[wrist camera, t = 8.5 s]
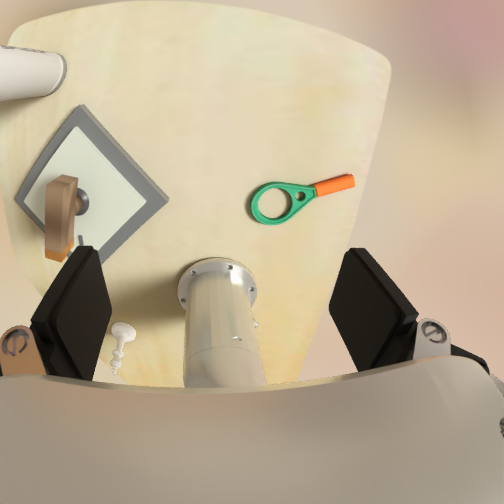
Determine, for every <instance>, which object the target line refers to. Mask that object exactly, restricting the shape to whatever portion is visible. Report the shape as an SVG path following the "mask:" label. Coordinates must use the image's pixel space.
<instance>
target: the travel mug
mask: <svg viewBox="0 0 504 504" xmlns="http://www.w3.org/2000/svg"><path fill="white" fill-rule="evenodd" d="M66 70H67V65H66V61H65V59H64V57H63V56H62V55H60V54H57V53H52V52H47V51H41V50H34V49H28V48H20V47H11V46H0V102H1V101H7V100H14V99H21V98H30V97H39V96H47V95H50V94H52V93H53V92H55V91H56V90H57V89H58V88H59V87H60V85H61V84H62V82H63V80H64V78H65V75H66Z"/></svg>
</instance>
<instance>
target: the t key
mask: <svg viewBox="0 0 504 504" xmlns="http://www.w3.org/2000/svg"><path fill="white" fill-rule="evenodd" d="M77 187H78V178H77V177H72V176H68V175H63V174H62V175H60V176H59V177H57V178H56V179H54V180H53V181H51V182H50V183H48V184H47V185H46V194H45V258H48V259H52V260H55V261H58V262H61V263H62V261H63V260H64V259H65V257H66V256H67V254H68V253H69V252H70V250H71V249H72V248H73V246H74V221H75V215H76V214H77V213H78V212H79V211H80V210H81V209H82V207H83V200H82V198H81V196H79V195H78V194H77Z"/></svg>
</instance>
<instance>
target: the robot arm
mask: <svg viewBox="0 0 504 504" xmlns="http://www.w3.org/2000/svg"><path fill="white" fill-rule="evenodd" d="M177 294H178V300H179V302H180V304H181V306H182V308H183V309H184V310H185V311H186V318H185V337H184V362H183V381H184V386H185V388H172V387H149V386H135V385H122V384H113V383H104V382H95V381H92V379H93V375H94V371H95V367H96V364H97V360H98V356H99V353H100V349H101V346H102V343H103V339H104V336H105V333H106V329H107V326H108V323H109V320H110V317H111V313H112V307H111V303H110V299H109V296H108V292H107V288H106V284H105V280H104V276H103V272H102V267H101V263H100V258H99V254H98V251H97V250H96V249H94V248H93V246H77V247H76V248H75V250H74V251H73V253H72V254H71V256H70V257H69V258H68V260H67V261H66V263H65V264H64V266H63V267H62V269H61V270H60V272H59V273H58V275H57V276H56V278H55V279H54V281H53V282H52V284H51V286H50V287H49V289H48V290H47V292H46V294H45V295H44V297H43V299H42V301H41V302H40V304H39V306H38V308H37V309H36V311H35V313H34V315H33V316H32V318H31V322H32V324H31V326H30V328H28V327H26V326H22V325H21V326H15V327H12V328H10V329H9V330H7V331H6V332H5V333H4V334H3V335H2V337H1V339H0V504H504V383H503V382H502V381H500V380H499V379H498V378H497V377H495V376H494V375H493V374H491V375H490V373H489V368H488V366H487V364H486V362H485V360H483V359H482V358H480V357H478V356H476V355H474V354H472V353H469V352H467V351H465V350H463V349H461V348H459V347H457V346H455V345H452V344H451V343H450V334H449V332H448V330H447V329H446V328H445V327H444V326H443V325H442V324H441V323H440V322H438V321H436V320H433V319H429V318H425V319H422V320H421V321H419V322H418V323H417V321H416V318H417V316H418V314H419V313H418V312H417V311H416V309H415V308H414V307H413V306H412V304H411V303H410V302H409V301H408V299H407V298H406V297H405V295H404V294H403V293H402V292H401V290H400V289H399V288H398V287H397V286H396V284H395V283H394V282H393V281H392V279H391V278H390V277H389V276H388V275H387V273H386V272H385V271H384V270H383V269H382V267H381V266H380V265H379V264H378V263H377V262H376V260H375V259H374V258H373V257H372V256H371V255H370V254H369V252H368V251H367V250H366V249H365V248H350V249H349V251H347V252H346V253H345V255H344V258H343V261H342V265H341V268H340V271H339V275H338V278H337V281H336V284H335V287H334V290H333V294H332V297H331V300H330V303H329V312H330V314H331V316H332V318H333V320H334V322H335V324H336V326H337V328H338V331H339V333H340V335H341V337H342V339H343V341H344V343H345V345H346V346H347V349H348V351H349V353H350V355H351V357H352V360H353V362H354V364H355V366H356V368H357V370H358V372H355V373H350V374H345V375H339V376H333V377H328V378H321V379H314V380H307V381H299V382H290V383H281V384H271V385H267V382H266V378H265V373H264V368H263V364H262V359H261V354H260V349H259V345H258V340H257V335H256V330H255V328H256V327H257V326H258V322H257V321H256V320H255V319H254V318H253V316H252V311H251V307H252V306H253V304H254V302H255V300H256V296H257V286H256V282H255V279H254V277H253V275H252V273H251V272H250V271H249V270H248V269H247V268H246V267H245V266H243V265H242V264H240V263H238V262H236V261H234V260H230V259H226V258H210V259H206V260H202V261H199V262H197V263H195V264H193V265H192V266H190V267H189V268H188V269H187V270H186V271H185V272H184V273H183V275H182V276H181V278H180V280H179V283H178V289H177Z"/></svg>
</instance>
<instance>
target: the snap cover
mask: <svg viewBox="0 0 504 504" xmlns="http://www.w3.org/2000/svg"><path fill="white" fill-rule="evenodd" d="M62 174H63V175H68V176H72V177H77V178H78V187H77V194H78V195H79V196H81V198H82V200H83V207H82V209H81V210H80V211H79V212H78V213H77V214H76V215H75V221H74V246H73V248H72V249H71V250H70V252H69V253H68V254H67V255H68V256H69V257H70V256H71V254H72V253H73V251H74V250H75V248H76V247H77V246H93V248H94V249H96V250H97V251H98V254H99V258H100V263H101V265H102V264H103V263H104V262H105V261H106V260H107V259H108V258H109V257H110V256H111V255H112V254H113V253H114V252H115V251H116V250H117V249H118V248H119V247H120V246H121V245H122V244H123V243H124V242H125V241H126V240H127V239H128V238H129V237H130V236H131V235H132V234H133V233H134V232H135V231H136V230H138V229H139V228H140V227H141V226H142V225H143V224H144V223H145V222H146V221H147V220H148V219H149V218H151V217H152V216H153V215H154V214H155V213H156V212H157V211H158V210H159V209H161V208H162V207H163V206H164V205H165V204H166V203H167V202H168V200H169V197H168V196H167V195H166V194H165V193H164V192H163V191H162V190H161V189H160V188H159V187H158V186H157V185H156V184H155V182H154V181H153V180H152V179H151V178H150V177H149V176H148V175H147V174H146V173H145V172H144V171H143V170H142V168H141V167H140V166H139V165H138V164H137V163H136V162H135V161H134V160H133V159H132V158H131V156H130V155H129V154H128V153H127V152H126V151H125V150H124V149H123V148H122V147H121V146H120V144H119V143H118V142H117V141H116V140H115V139H114V138H113V137H112V136H111V134H110V133H109V132H108V131H107V130H106V129H105V128H104V127H103V126H102V124H101V123H100V122H99V121H98V120H97V119H96V118H95V117H94V115H93V114H92V113H91V112H90V111H89V110H88V109H87V108H86V106H85V105H79V106H78V107H77V108H76V109H75V110H74V112H73V113H72V114H71V115H70V116H69V118H68V119H67V120H66V121H65V123H64V124H63V125H62V127H61V128H60V129H59V130H58V132H57V133H56V134H55V136H54V137H53V138H52V140H51V141H50V143H49V144H48V145H47V147H46V148H45V150H44V151H43V153H42V154H41V156H40V157H39V159H38V160H37V162H36V163H35V165H34V167H33V168H32V170H31V171H30V173H29V175H28V176H27V178H26V180H25V181H24V183H23V185H22V187H21V188H20V190H19V192H18V194H17V196H16V197H15V201H16V202H17V203H18V204H19V205H20V206H21V207H22V209H23V210H24V211H25V212H26V213H27V214H28V215H29V217H30V218H31V219H32V220H33V221H34V222H35V223H36V224H37V225H38V226H39V227H40V228H41V229H42V230H43V232H44V233H45V194H46V185H47V184H48V183H50V182H51V181H53V180H54V179H56V178H57V177H59V176H60V175H62Z"/></svg>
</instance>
